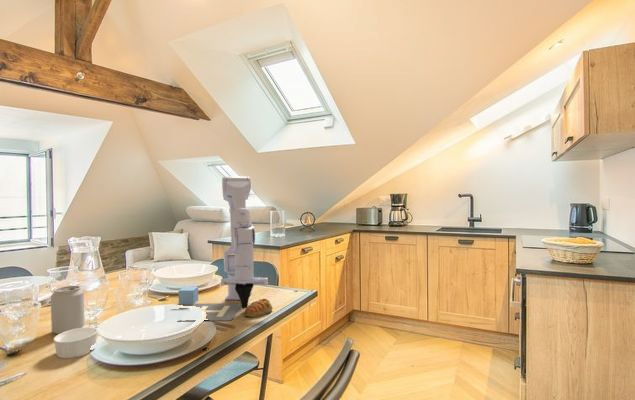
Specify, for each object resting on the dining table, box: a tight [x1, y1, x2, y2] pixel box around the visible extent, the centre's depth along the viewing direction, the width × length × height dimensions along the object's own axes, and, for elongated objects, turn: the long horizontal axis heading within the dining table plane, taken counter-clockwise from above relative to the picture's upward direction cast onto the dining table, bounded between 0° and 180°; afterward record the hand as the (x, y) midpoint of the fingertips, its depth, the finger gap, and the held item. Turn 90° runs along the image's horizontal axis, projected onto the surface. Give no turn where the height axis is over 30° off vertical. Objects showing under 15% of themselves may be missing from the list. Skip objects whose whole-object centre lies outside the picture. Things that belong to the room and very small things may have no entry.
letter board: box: [192, 302, 242, 322], centre depth 113 cm, size 16×16×1 cm
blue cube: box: [178, 286, 199, 306], centre depth 123 cm, size 5×5×5 cm
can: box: [50, 285, 85, 336], centre depth 99 cm, size 8×8×12 cm
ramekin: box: [53, 326, 99, 359], centre depth 86 cm, size 9×9×4 cm
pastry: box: [244, 298, 274, 318], centre depth 112 cm, size 9×7×4 cm
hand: (244, 307), depth 113 cm, fingers closed
